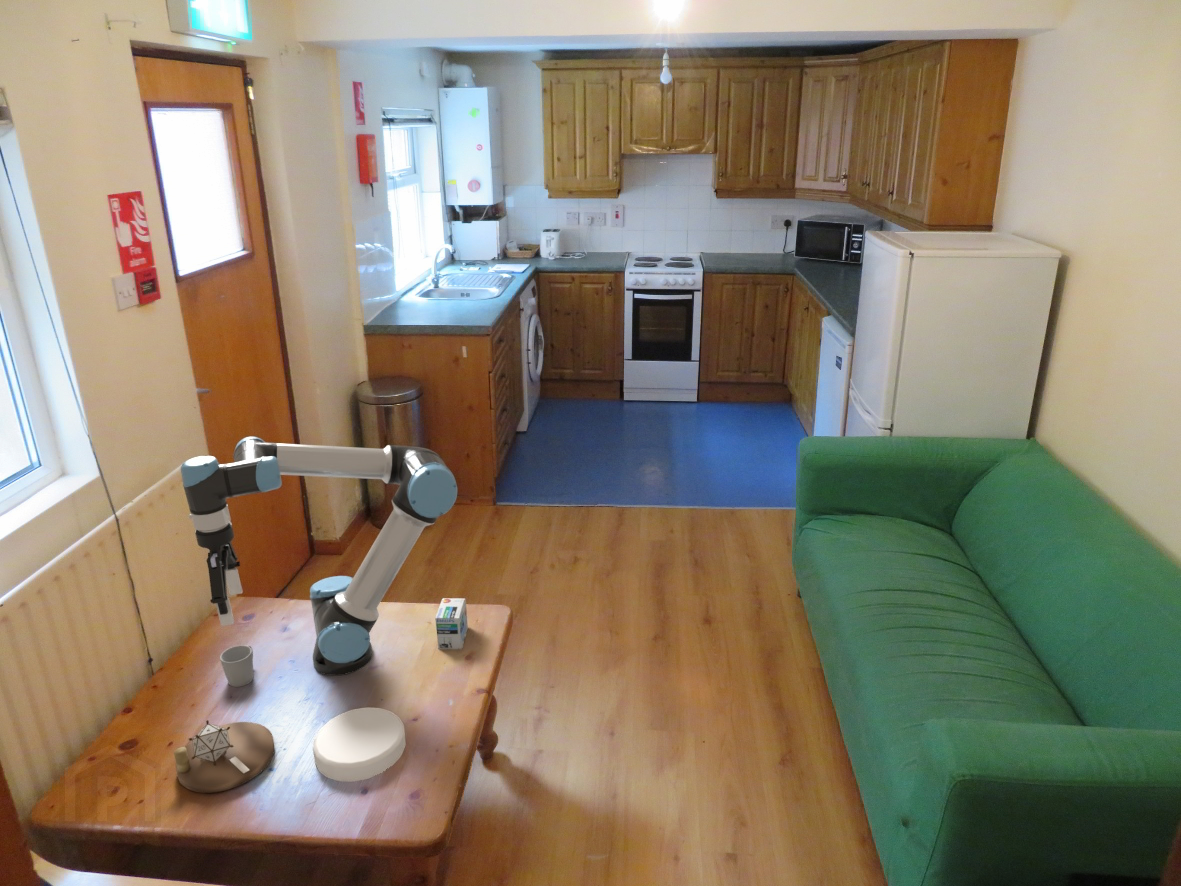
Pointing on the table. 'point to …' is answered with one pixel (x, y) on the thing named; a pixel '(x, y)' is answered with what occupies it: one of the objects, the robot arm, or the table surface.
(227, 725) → the turntable
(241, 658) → the cup
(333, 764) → the container
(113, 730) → the table surface
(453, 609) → the light bulb box
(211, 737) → the game die
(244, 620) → the table surface
